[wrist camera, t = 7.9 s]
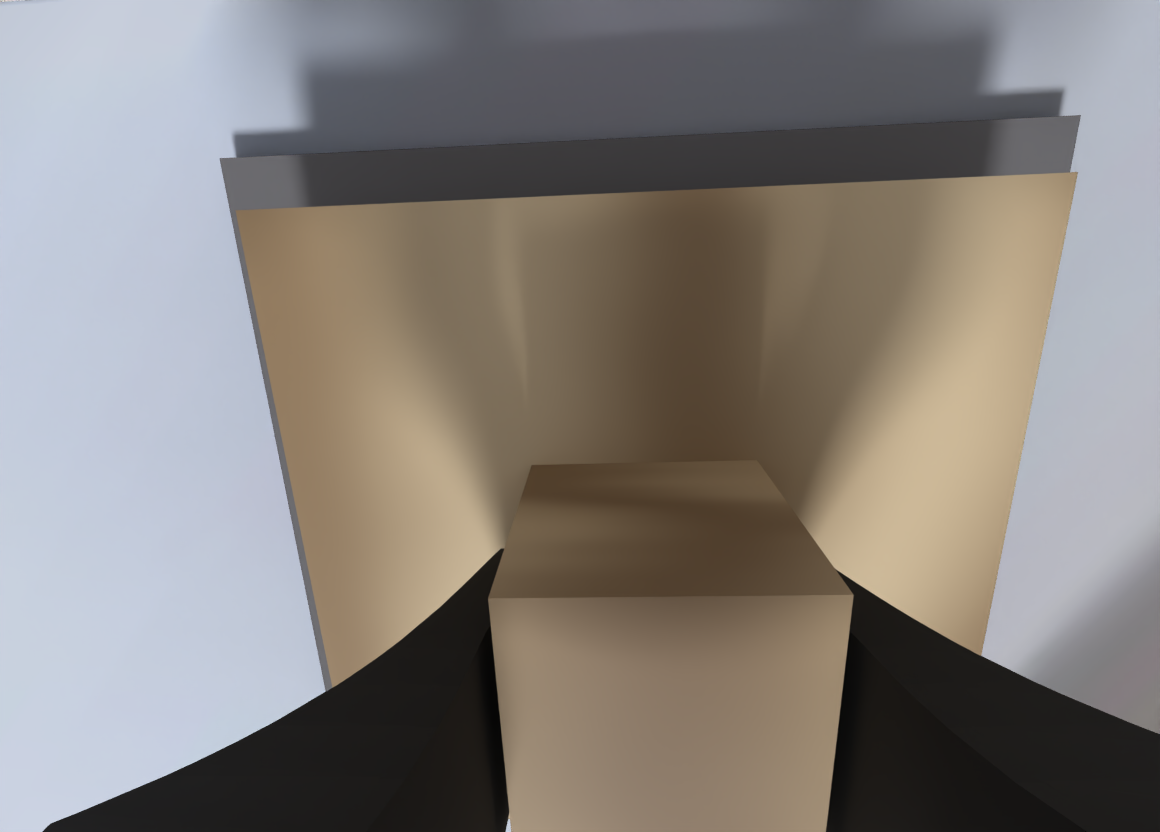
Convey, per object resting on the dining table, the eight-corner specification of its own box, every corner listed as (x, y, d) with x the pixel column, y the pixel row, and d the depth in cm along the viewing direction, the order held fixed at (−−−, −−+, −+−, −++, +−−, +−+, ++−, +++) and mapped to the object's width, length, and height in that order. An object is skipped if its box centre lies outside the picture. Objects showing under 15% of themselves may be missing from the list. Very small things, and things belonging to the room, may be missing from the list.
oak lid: (369, 792, 13) (254, 1061, 9) (256, 212, 10) (-36, 183, 5) (931, 796, 13) (1105, 1087, 8) (1047, 176, 9) (1476, 111, 5)
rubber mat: (354, 779, 16) (346, 796, 15) (235, 162, 11) (219, 158, 11) (940, 783, 15) (951, 801, 15) (1059, 120, 11) (1080, 115, 10)
